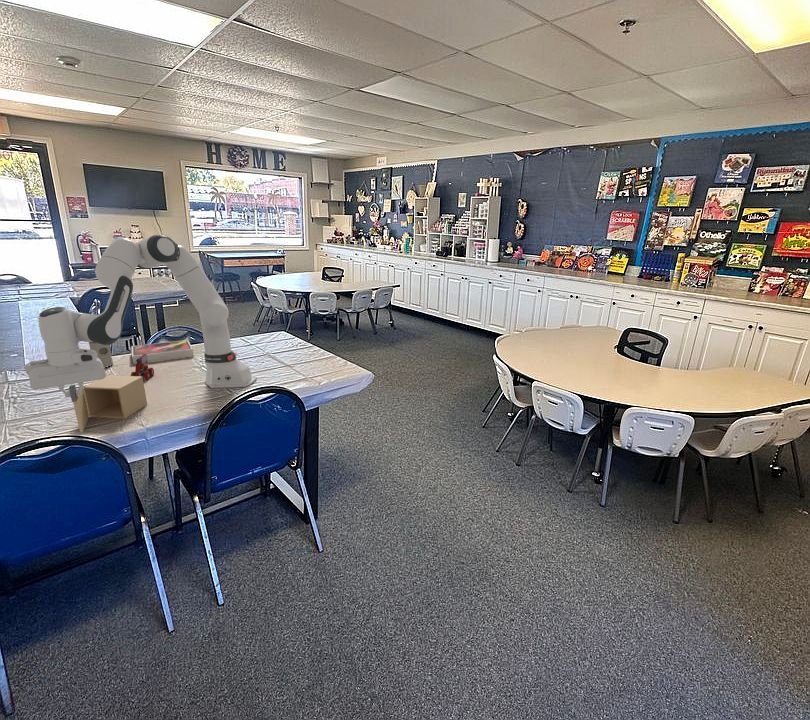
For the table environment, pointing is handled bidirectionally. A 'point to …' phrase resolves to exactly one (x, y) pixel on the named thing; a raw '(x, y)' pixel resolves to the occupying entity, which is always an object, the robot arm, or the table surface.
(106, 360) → the travel mug
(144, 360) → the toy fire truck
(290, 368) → the table surface
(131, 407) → the carton
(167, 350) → the product packaging
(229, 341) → the robot arm
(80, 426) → the carton flap
